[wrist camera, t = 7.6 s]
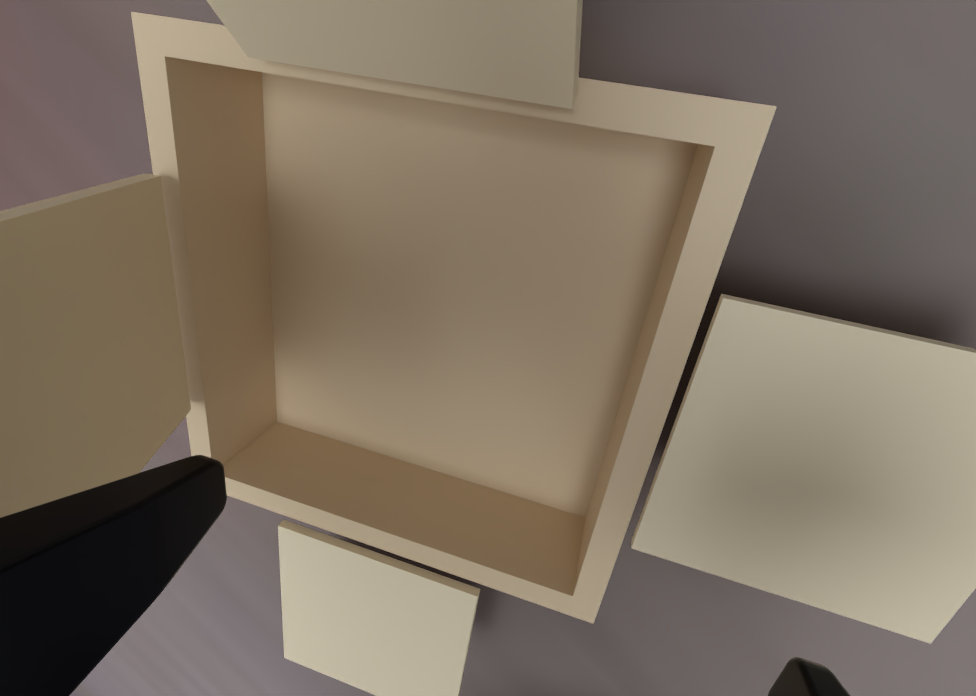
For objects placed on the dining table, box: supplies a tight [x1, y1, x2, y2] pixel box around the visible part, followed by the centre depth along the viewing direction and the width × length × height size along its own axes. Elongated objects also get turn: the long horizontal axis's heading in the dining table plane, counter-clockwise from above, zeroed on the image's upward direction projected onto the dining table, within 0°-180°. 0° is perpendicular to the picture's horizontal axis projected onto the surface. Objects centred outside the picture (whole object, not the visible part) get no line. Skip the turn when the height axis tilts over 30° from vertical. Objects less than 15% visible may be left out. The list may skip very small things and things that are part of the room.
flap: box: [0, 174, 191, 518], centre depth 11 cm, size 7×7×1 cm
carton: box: [131, 12, 976, 696], centre depth 16 cm, size 21×21×4 cm
